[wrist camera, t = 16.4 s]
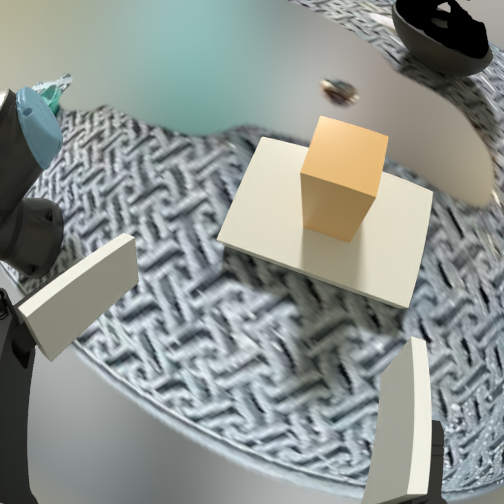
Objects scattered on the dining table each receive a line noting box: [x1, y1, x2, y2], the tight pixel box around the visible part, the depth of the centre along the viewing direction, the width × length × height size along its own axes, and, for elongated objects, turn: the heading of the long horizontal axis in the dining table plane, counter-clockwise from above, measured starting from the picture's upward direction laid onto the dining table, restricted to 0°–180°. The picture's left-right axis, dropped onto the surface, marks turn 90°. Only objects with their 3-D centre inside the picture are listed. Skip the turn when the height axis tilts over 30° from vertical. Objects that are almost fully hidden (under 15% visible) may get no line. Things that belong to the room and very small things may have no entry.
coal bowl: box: [392, 0, 493, 76], centre depth 25 cm, size 20×20×19 cm
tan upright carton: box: [300, 116, 388, 243], centre depth 23 cm, size 5×5×12 cm
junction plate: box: [217, 137, 433, 309], centre depth 27 cm, size 22×14×8 cm, turn 68°
